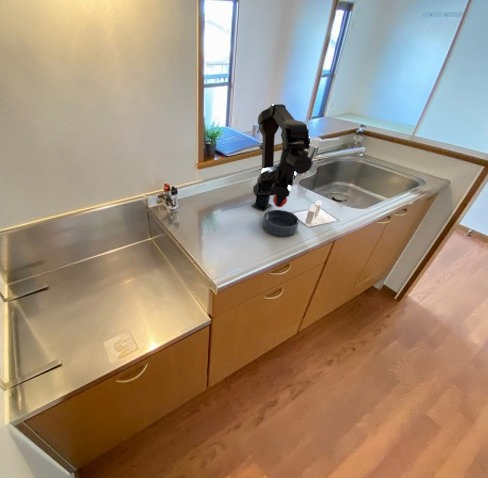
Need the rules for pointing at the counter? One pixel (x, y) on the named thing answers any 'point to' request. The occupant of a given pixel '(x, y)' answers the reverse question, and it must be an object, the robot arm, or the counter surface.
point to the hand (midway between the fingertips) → (279, 202)
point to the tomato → (282, 202)
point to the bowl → (280, 222)
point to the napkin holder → (314, 215)
